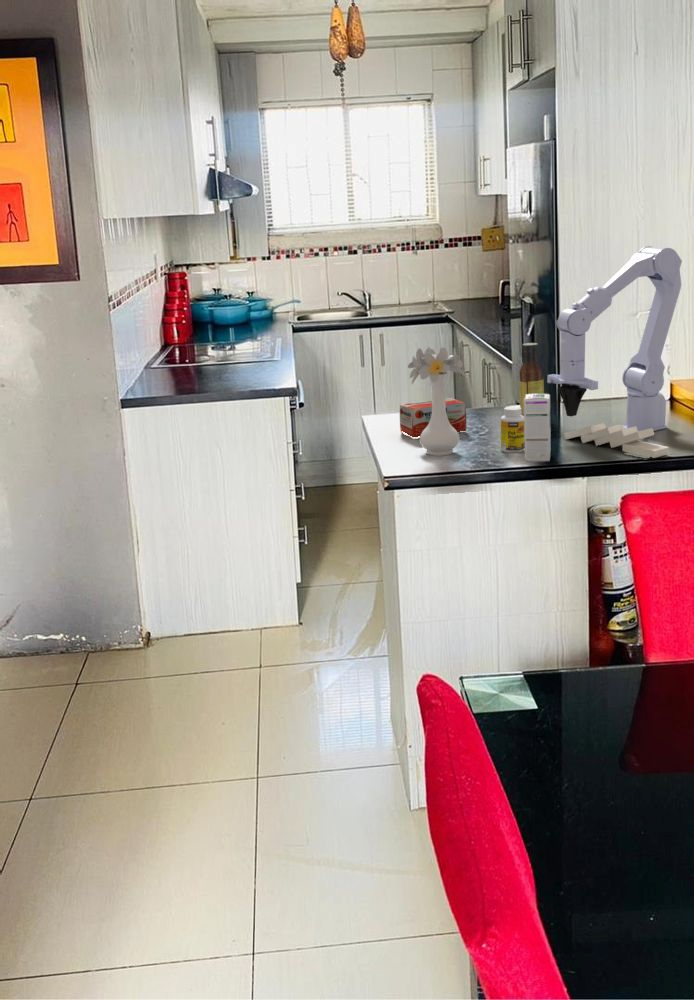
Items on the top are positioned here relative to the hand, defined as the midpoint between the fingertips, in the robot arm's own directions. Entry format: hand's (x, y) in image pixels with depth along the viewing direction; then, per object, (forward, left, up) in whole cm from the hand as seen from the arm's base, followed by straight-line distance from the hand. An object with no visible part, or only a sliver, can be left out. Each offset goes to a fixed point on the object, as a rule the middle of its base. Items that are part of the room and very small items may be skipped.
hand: (571, 415), depth 256 cm
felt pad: (+1, +23, -5) cm, 24 cm away
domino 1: (0, 0, -5) cm, 5 cm away
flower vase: (+33, -12, -6) cm, 35 cm away
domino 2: (0, +6, -5) cm, 7 cm away
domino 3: (0, +10, -5) cm, 11 cm away
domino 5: (0, +18, -4) cm, 19 cm away
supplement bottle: (+19, -1, -6) cm, 20 cm away
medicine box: (+20, -28, -6) cm, 35 cm away
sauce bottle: (-8, -22, -6) cm, 24 cm away
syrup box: (+20, +8, -6) cm, 22 cm away
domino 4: (0, +14, -4) cm, 15 cm away
